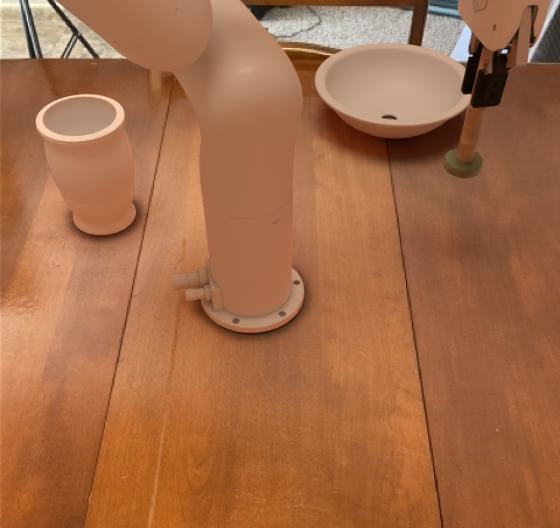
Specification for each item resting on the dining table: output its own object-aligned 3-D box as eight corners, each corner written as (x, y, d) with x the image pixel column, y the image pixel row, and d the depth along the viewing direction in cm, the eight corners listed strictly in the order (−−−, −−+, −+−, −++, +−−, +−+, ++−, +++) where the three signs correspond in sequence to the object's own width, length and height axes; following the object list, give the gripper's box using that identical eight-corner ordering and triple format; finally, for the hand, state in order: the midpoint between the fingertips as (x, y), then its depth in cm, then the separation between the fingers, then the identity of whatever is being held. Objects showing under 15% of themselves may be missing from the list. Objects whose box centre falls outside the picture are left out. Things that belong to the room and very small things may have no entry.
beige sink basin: (282, 115, 108) (282, 75, 103) (388, 66, 118) (393, 27, 113) (390, 186, 97) (396, 145, 92) (497, 125, 106) (509, 85, 101)
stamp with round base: (451, 180, 79) (480, 60, 68) (438, 158, 82) (464, 39, 70) (486, 176, 79) (521, 56, 68) (472, 154, 82) (504, 36, 71)
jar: (159, 210, 93) (142, 109, 82) (107, 252, 88) (80, 150, 76) (102, 184, 97) (78, 84, 85) (49, 222, 92) (15, 121, 80)
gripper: (457, -126, 64) (422, 66, 78) (529, -63, 54) (474, 143, 68) (531, -129, 65) (483, 60, 79) (615, -68, 55) (543, 136, 69)
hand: (479, 97), depth 74 cm, fingers closed on stamp with round base, 2 cm apart
